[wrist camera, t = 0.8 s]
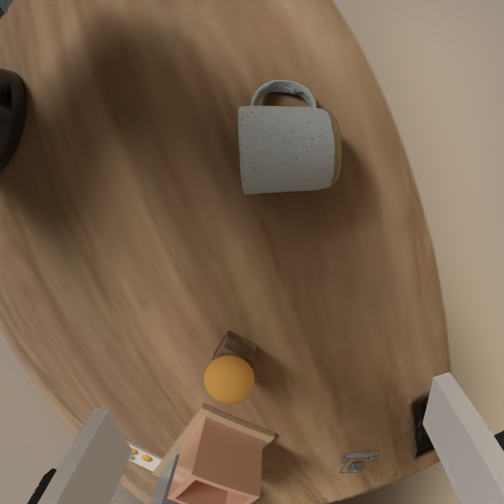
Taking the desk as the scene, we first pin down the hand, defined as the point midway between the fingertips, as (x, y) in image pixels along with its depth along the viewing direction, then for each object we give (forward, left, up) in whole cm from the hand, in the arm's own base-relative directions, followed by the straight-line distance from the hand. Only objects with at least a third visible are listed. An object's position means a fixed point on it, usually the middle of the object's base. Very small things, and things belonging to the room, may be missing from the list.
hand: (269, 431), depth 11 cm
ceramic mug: (-5, +11, -23) cm, 26 cm away
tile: (-1, -40, -22) cm, 46 cm away
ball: (+2, -11, -19) cm, 22 cm away
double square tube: (+8, -32, -22) cm, 40 cm away
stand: (+2, -11, -22) cm, 25 cm away
